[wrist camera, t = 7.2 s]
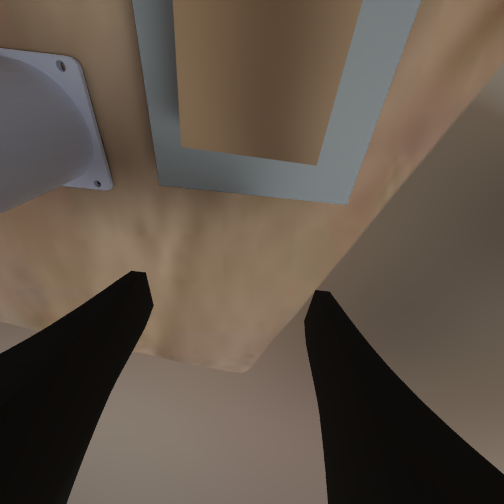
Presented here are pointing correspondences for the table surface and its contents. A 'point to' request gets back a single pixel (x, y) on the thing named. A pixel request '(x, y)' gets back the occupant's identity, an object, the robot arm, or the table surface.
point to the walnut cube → (260, 74)
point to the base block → (267, 170)
